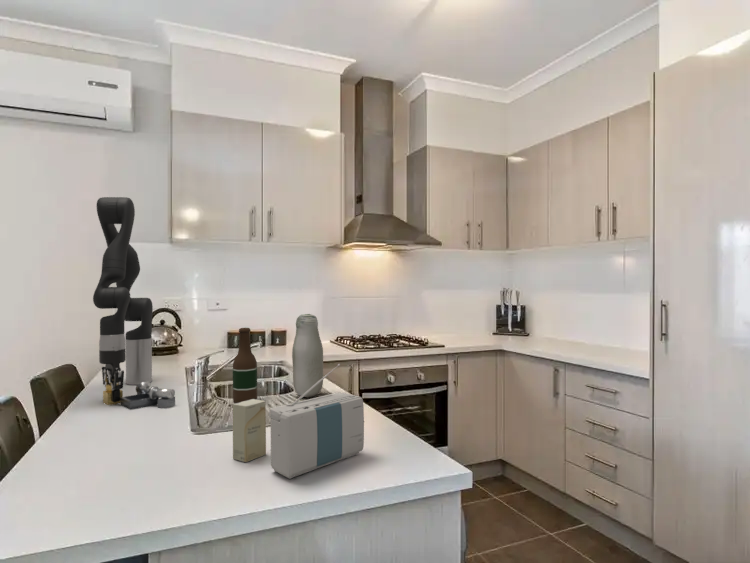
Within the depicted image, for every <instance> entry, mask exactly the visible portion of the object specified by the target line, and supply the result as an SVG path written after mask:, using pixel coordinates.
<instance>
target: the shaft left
mask: <svg viewBox="0 0 750 563" xmlns="http://www.w3.org/2000/svg"><path fill="white" fill-rule="evenodd" d="M151 384H152V383H151V382H149V381H147V380H146V381H143V382H141V383H139V384H136V387H135V392H136V395H137V394H144V393H149V390H150V388H151Z"/></svg>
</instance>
